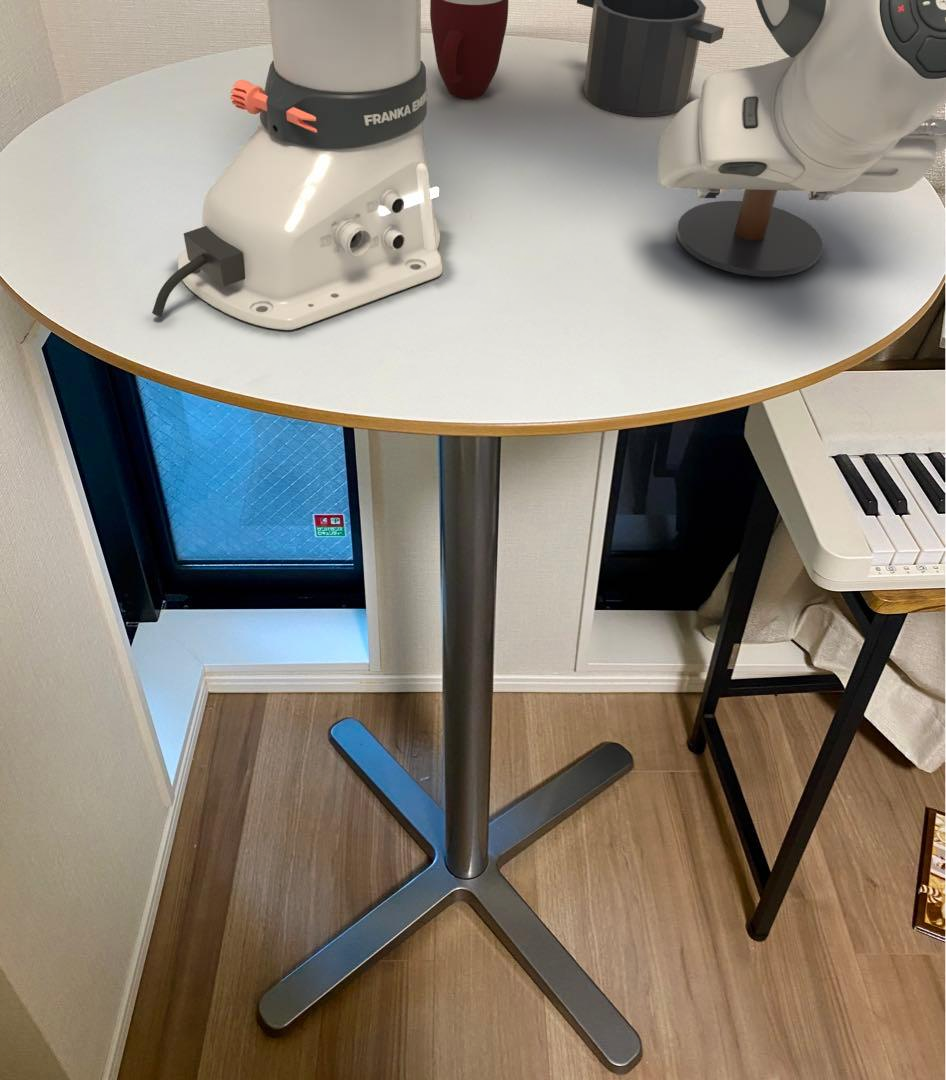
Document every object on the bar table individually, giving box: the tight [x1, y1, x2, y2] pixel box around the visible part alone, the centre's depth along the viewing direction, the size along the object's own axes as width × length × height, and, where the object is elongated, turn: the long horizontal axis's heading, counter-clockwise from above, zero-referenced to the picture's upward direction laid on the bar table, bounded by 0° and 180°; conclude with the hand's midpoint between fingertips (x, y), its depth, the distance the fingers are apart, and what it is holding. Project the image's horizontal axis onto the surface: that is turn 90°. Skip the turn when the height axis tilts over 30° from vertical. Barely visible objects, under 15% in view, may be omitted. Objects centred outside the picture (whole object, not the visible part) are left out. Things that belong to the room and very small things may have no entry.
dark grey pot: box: [576, 0, 725, 118], centre depth 106 cm, size 11×17×9 cm
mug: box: [429, 0, 509, 100], centre depth 104 cm, size 11×8×10 cm
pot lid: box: [676, 190, 823, 278], centre depth 83 cm, size 12×12×9 cm
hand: (761, 190), depth 83 cm, fingers open, 8 cm apart
